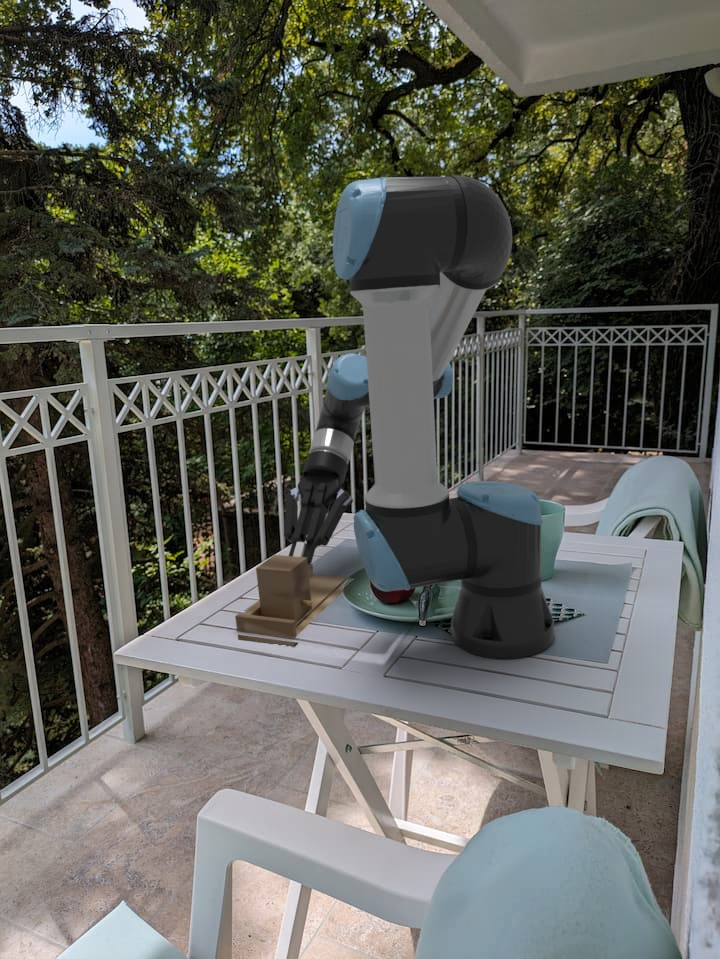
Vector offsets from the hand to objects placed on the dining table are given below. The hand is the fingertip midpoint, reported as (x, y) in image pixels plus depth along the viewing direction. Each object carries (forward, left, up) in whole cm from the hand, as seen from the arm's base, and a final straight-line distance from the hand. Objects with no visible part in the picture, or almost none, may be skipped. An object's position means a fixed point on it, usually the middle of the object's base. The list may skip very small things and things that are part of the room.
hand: (293, 580), depth 122 cm
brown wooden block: (-4, +2, -4) cm, 6 cm away
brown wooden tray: (0, -1, -6) cm, 6 cm away
